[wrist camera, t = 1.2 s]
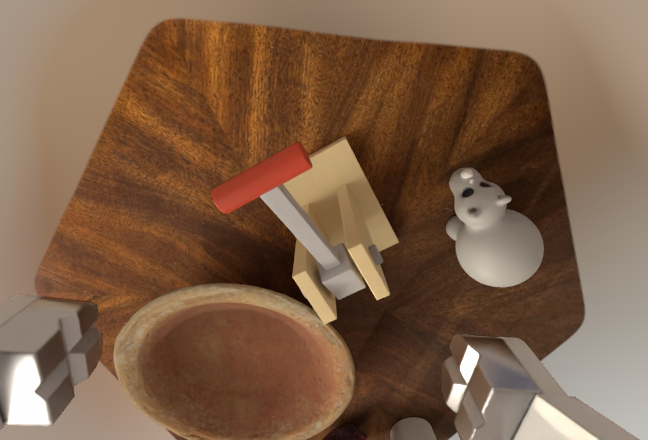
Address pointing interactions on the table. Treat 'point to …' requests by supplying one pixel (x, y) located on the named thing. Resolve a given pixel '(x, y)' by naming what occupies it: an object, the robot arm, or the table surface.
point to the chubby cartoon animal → (491, 233)
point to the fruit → (346, 433)
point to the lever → (291, 214)
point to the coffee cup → (412, 430)
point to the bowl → (234, 364)
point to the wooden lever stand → (340, 223)
